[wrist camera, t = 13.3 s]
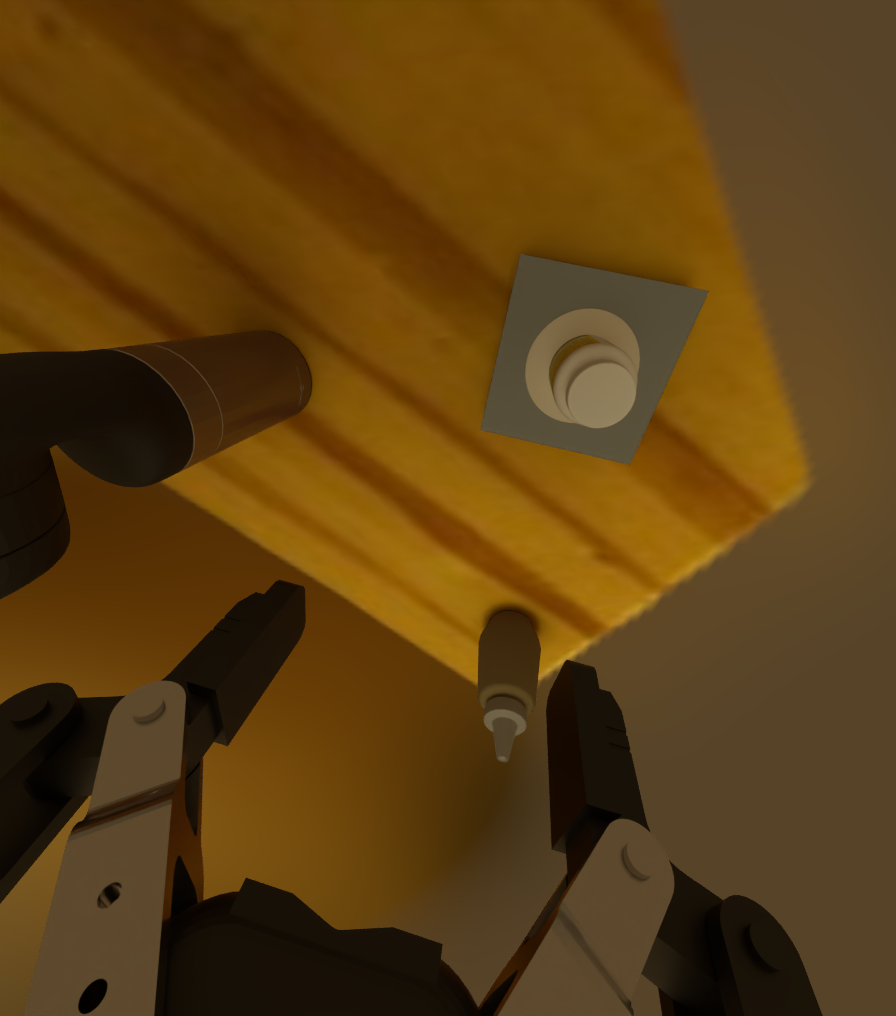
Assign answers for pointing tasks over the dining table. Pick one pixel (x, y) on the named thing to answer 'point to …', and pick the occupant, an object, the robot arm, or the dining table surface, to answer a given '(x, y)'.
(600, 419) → the supplement bottle
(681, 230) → the dining table surface
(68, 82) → the dining table surface
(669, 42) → the dining table surface
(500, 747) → the squeeze bottle
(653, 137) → the dining table surface
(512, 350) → the charcoal stand
